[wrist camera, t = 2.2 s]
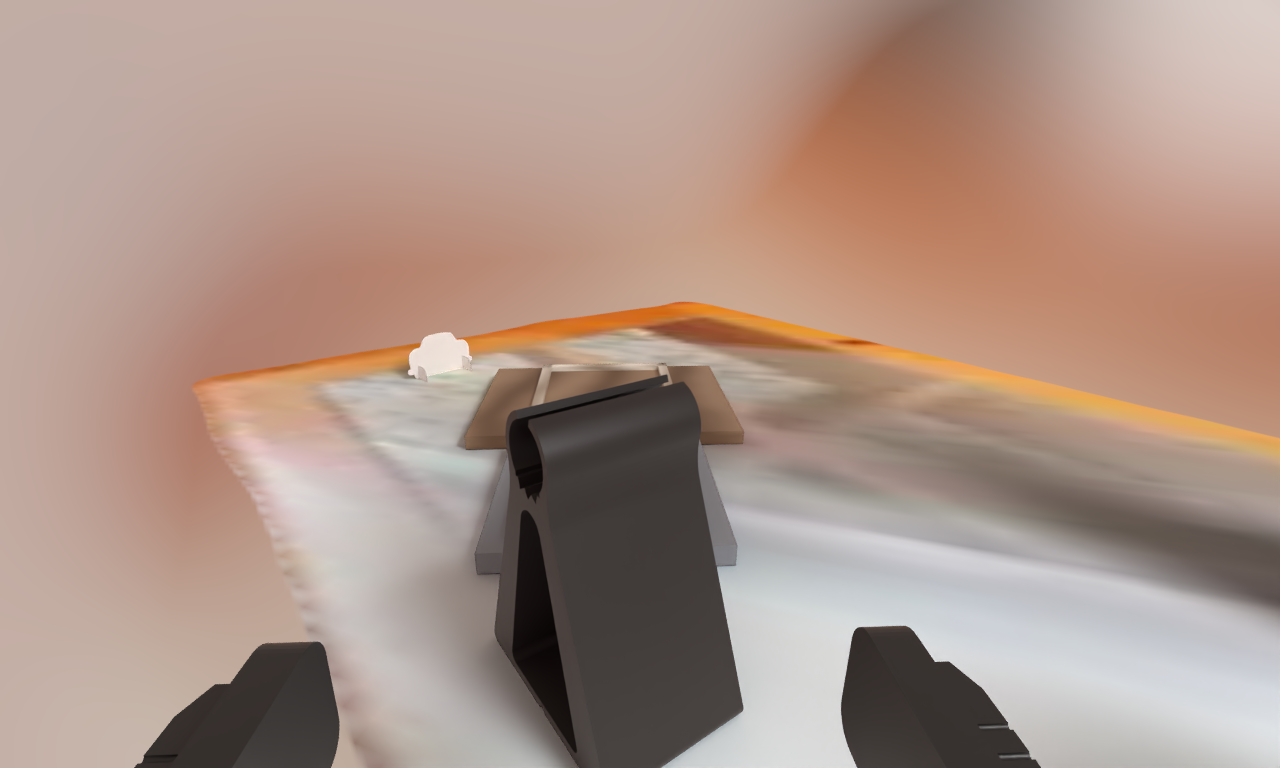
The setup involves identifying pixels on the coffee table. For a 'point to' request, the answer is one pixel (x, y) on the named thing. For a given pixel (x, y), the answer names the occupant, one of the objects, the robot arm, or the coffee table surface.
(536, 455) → the phone stand
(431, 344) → the car cutout
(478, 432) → the marked board
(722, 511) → the ink pad
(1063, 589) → the coffee table surface
